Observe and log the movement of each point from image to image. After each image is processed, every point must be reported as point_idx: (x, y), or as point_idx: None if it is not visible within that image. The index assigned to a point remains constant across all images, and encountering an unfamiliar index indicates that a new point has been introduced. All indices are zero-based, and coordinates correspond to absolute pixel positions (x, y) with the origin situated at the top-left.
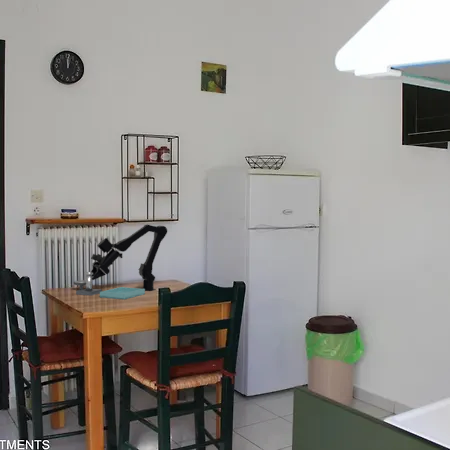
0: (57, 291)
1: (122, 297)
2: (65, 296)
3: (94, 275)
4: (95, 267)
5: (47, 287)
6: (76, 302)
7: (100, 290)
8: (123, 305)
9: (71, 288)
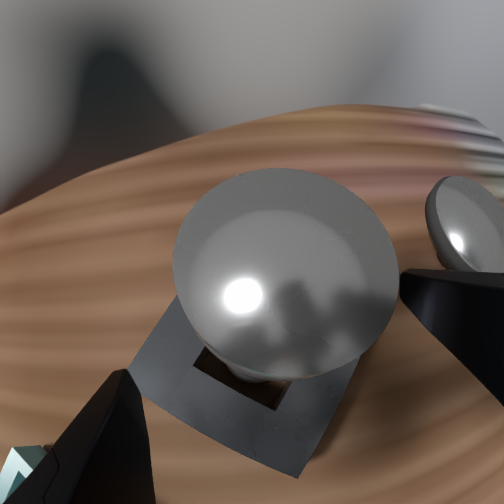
0: (365, 138)
1: None
2: (152, 191)
3: (72, 426)
4: None
5: (451, 117)
6: None
7: (275, 468)
8: None
9: None
